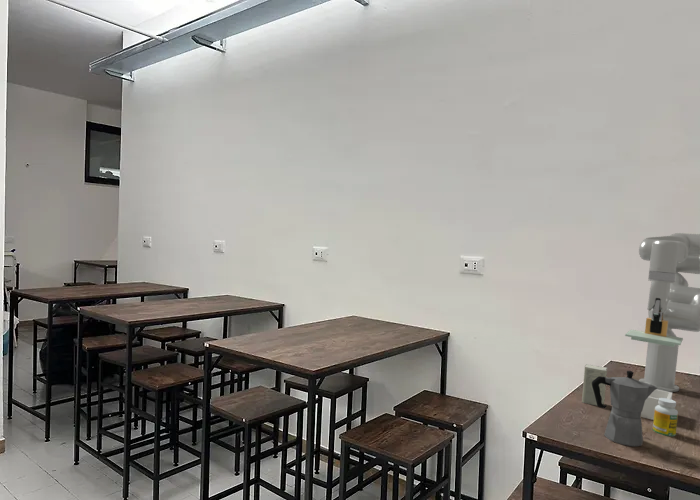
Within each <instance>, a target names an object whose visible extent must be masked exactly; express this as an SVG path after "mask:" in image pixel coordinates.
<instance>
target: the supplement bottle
mask: <svg viewBox="0 0 700 500" xmlns="http://www.w3.org/2000/svg"><path fill="white" fill-rule="evenodd" d="M658 403H659V405H657V406H656V407H655V412H654V420H653V422H652V430H653V432H654V433H656V434H659V435H663V436H667V437H676V436H677V428H678V427H677V426H678V420H679V419H678V417H679V412H678V410H677V409H676V407H677V401H675V400H673V399H672V400H671V399H667V398H659V401H658Z"/></svg>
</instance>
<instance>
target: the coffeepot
mask: <svg viewBox="0 0 700 500" xmlns="http://www.w3.org/2000/svg"><path fill="white" fill-rule="evenodd" d="M626 376H627V377H626ZM626 376H624V377H623V376H619V377H618V376H611V377H608V376H607V377H602V376H598V377H597V378H596V379H595V380H593V381H592V387H593V391H594V395H595V398H596V402H597V406H596V407H598V408H601V409H606V408H607V406H608V405H607V404H605V403H604V404H602V402H601V401H602V397H601V395H600V387H599V384H600V383H602V384H605V385H607V386H609V395H610V396H609V397H610V405H611V411H610V414H609V417H608V421H607V424H606V427H605V431H604V434H603V435H604V437H605V438H607V440H609V441H611V442H614V443H616V444H620V445H622V446H627V447H641V446H643V442H644V437H643V436H644V435H643V424H642V417H641V412H642V410H643V406H644V403H645V400H646V399H647V398H648V397H649V395H650V394H651V393H652V392H653V391H654V390H656V389H657V387H655V386H653V385H651V384H647V383H644V382H641V381H639V379H636V378H633V376H634V372H633V370H632V371H631V370H627V371H626Z"/></svg>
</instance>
